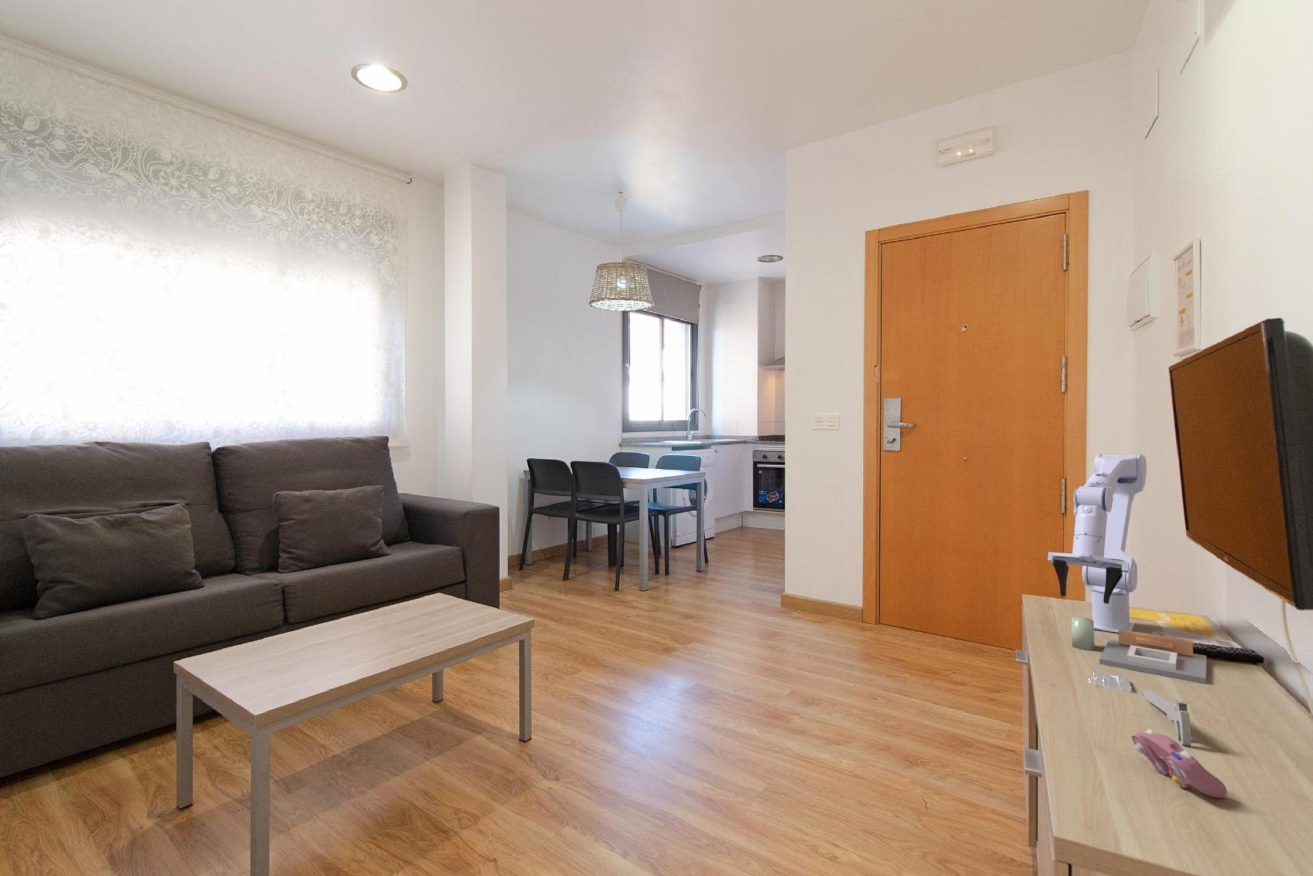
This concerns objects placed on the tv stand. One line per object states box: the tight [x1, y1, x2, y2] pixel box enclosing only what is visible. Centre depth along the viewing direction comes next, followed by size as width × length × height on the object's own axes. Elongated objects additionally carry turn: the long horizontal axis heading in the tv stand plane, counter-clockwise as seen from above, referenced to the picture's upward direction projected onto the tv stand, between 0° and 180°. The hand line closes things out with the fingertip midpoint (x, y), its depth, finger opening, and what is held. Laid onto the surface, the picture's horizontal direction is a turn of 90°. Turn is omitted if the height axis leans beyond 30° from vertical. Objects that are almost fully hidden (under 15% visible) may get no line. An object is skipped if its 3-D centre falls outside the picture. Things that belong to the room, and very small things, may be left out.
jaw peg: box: [1071, 616, 1095, 651], centre depth 132 cm, size 4×4×6 cm
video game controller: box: [1131, 728, 1228, 799], centre depth 82 cm, size 10×5×7 cm, turn 178°
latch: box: [1117, 629, 1194, 656], centre depth 126 cm, size 2×12×3 cm, turn 47°
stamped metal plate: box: [1087, 668, 1132, 693], centre depth 114 cm, size 8×7×2 cm
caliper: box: [1141, 689, 1192, 747], centre depth 99 cm, size 20×1×6 cm, turn 155°
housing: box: [1099, 639, 1208, 685], centre depth 123 cm, size 15×16×2 cm
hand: (1084, 599), depth 131 cm, fingers open, 7 cm apart
